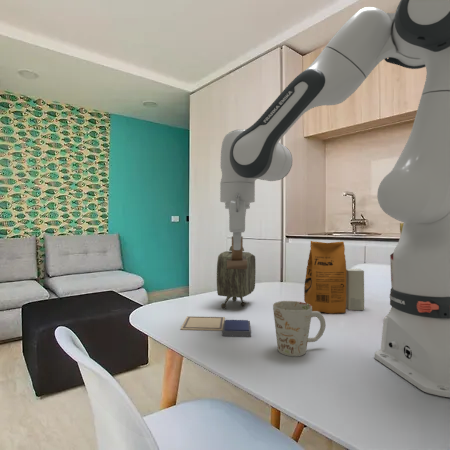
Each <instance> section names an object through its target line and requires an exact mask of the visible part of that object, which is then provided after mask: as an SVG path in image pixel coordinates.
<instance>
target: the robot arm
mask: <svg viewBox="0 0 450 450" xmlns="http://www.w3.org/2000/svg"><path fill="white" fill-rule="evenodd" d="M383 60H384V61H385V62H386V63H389V64H393V65H396V66H400V67H403V68H406V69H409V70H419V69H423V68H425V69H426V76H425V82H424V85H423V89H422V92H421V96H420V99H419V102H418V103H419V104H418V106H417V111H416V113H415V116H414V117H415V118H414V121H413V125H412V128H411V132H410V134H409V137H408V139H407V141H406V142H405V145H404V147H403V149H402V152H401V153H400V155H399V157H398V159H397V161H396V162H395V164H394V166H393V168H392V170H391V171H390V172H389V173H388V174H386V175H385V176H384V177H383V179H381V181H380V182H379V185H378V188H377V193H376V195H377V198H376V199H377V202H378V205H379V206H380V209H381V210H382V211H383V212H384V213H385V214H387V216H389V217H391V218H392V219H395V220H397V221H399V222H400V223H404V224H403V228H402V232H401V233H400V236H399V239H398V243H397V245H395V246H396V247H395V248H394V250H393V288H390V294H389V305H390V306H391V308H390V310H389V312H388V313H387V315H386V316H385V317H384V318H383V322H382V331H381V340H380V341H381V342H380V349H378V350H376V351H375V352H374V359H375V360H377V361H378V362H380V363H381V364H383V366H385V367H387V368H389V369H390V370H391V371H393V372H394V373H396V374H397V375H398V376H400V377H402V378H403V379H404V380H406V381H407V382H409V383H410V384H412V386H415V387H416V388H418V389H419V390H421V391H422V392H425V393H426V394H430V395H434V396H439V397H446V398H450V0H400V1H399V3H398V5H397V6H396V9H395V12H393V13H392V12H391V13H390V12H386V11H384V10H383V9H381V8H379V7H375V6H365V7H362V8H361V9H359V10H358V11H356V12H355V13H354V14H353V15H352V16H351V17H349V19H348V20H347V21H345V23H344V24H343V25H342V26H341V27H340V28H339V30H338V31H336V33H335V34H334V36H332V38H331V39H330V40H329V42H328V43H327V44H326V45H325V47H324V48H323V50H322V51H321V52H320V53H319V55H318V56H317V57H316V58H315V60H313V62H312V63H310V65H309V66H308V67H307V68H306V69H305V70H303V71H302V72H300V73H299V74H298V75H297V76H296V77H295V78H293V79H292V80H291V82H290V83H289V84H288V85H287V86H286V87H285V88H284V90H282V92H280V94H279V95H278V96H277V97H276V99H275V100H274V101H273V102H272V103H271V105H270V106H268V108H267V109H266V110H265V111H264V112H263V113H262V114H261V116H260V117H259V118H258V119H257V120H256V121H255V122H254V123H253V124H252V125H251V126H249V127H248V128H245V129H235V130H232V131H230V132H228V133H226V134H225V136H224V137H223V138H222V143H221V149H220V170H221V179H220V182H219V183H220V184H219V185H220V186H219V187H220V190H219V191H220V192H219V193H220V195H219V196H220V198H219V199H220V200H219V201H220V203H224V208H225V209H227V210H228V216H229V218H228V224H229V225H228V226H229V227H228V229H229V232H230V233H232V236H233V249H234V250H240V249H241V236H242V233H245V231H246V213H247V210H248V209H250V207H251V205H250V204H251V203H255V202H256V199H255V196H256V194H255V193H256V188H255V187H256V180H260V181H261V180H262V181H268V182H276V181H280V180H282V179H284V178H286V177H287V176H288V174H289V173H290V171H291V170H292V167H293V155H292V152H291V151H290V150H289V148H288V147H286V146H285V145H284V144H282V143H281V142H280V141H281V140H282V139H283V137H284V136H285V135H286V134H287V133H288V132H289V131H290V129H291V128H292V127H293V126H294V125H295V124H296V123H297V122H298V120H299V119H300V118H301V117H303V115H304V114H306V113H307V112H308V111H310V110H312V109H314V108H317V107H318V108H319V107H322V106H335V105H339V104H342V103H343V102H345V101H346V100H347V99H348V98H349V97H351V96H352V95H353V94H354V93H355V92H356V91H357V90H358V89H359V88H360V86H361V85H362V84H363V83H364V82H365V81H366V79H367V78H368V77H369V75H370V74H371V73H372V71H374V69H375V68H376V67H377V66H378V65H379V64H380V63H381V62H382V61H383Z"/></svg>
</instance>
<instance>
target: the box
mask: <svg viewBox="0 0 450 450" xmlns="http://www.w3.org/2000/svg"><path fill="white" fill-rule="evenodd" d="M346 310H349V311H364V310H365V271H364V269H361V268H346Z"/></svg>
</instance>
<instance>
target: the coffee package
mask: <svg viewBox="0 0 450 450" xmlns="http://www.w3.org/2000/svg"><path fill="white" fill-rule="evenodd" d="M344 243H345V242H344V241H333V242H321V241H314V240H313V241H312V240H310V250H309V253H308V259H307V266H306V274H305V280H304V287H303V293H304V294H303V297H304V299H303V300H304V301H303V302H304V303H307V304H310V305H311V306H312V311H318V312H320V313H325V314H330V315H331V314H344V313H346V311H347V308H346V269H347V261H346V255H345V252H346V251H345V250H346V247H345V244H344Z"/></svg>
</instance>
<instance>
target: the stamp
mask: <svg viewBox="0 0 450 450" xmlns="http://www.w3.org/2000/svg"><path fill="white" fill-rule="evenodd" d="M243 240H244V237H243V236H242V235H241V249H240V250H234V249H233V235H232V236H231V246H232V251H231V252H232V259H227V269H247V259H243V252H244V251H243V248H244V247H243V243H244V241H243Z"/></svg>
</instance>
